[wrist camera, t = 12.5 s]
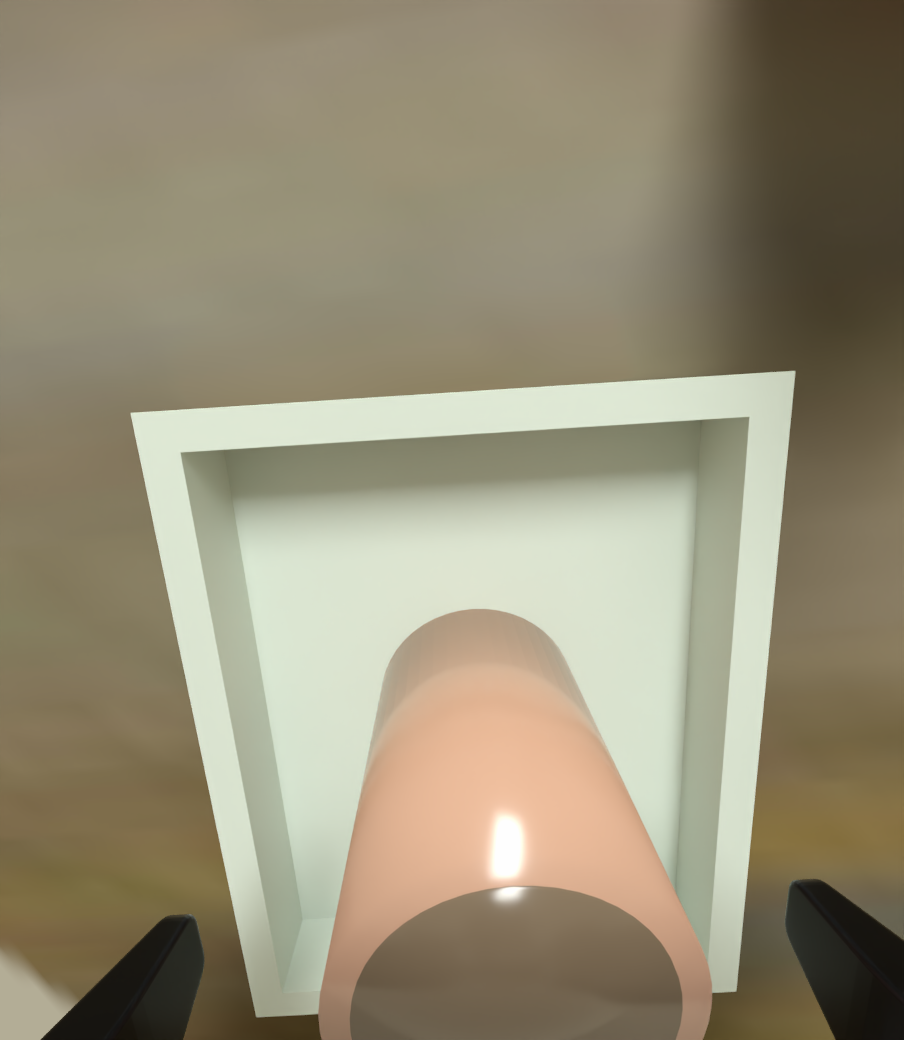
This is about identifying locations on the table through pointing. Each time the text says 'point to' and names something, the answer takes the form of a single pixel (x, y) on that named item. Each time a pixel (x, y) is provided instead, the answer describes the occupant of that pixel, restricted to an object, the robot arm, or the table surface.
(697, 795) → the tray
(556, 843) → the cup
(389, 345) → the table surface
